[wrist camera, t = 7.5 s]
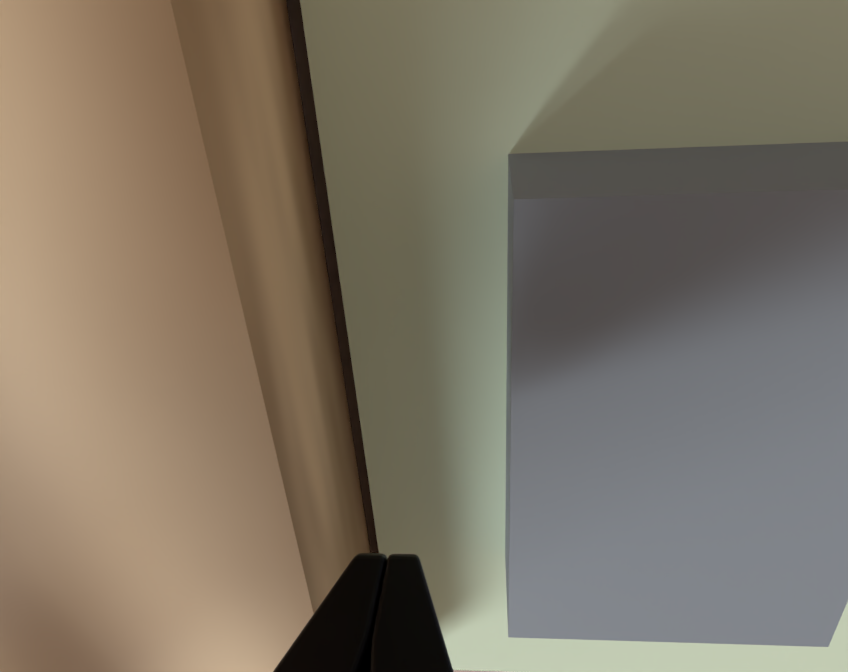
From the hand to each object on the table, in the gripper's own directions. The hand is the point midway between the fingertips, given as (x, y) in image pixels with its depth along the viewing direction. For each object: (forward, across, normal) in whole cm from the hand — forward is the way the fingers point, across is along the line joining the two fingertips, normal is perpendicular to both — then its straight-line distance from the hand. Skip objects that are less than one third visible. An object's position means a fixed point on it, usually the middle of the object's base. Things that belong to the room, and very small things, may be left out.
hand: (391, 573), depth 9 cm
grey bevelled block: (+2, -5, 0) cm, 5 cm away
